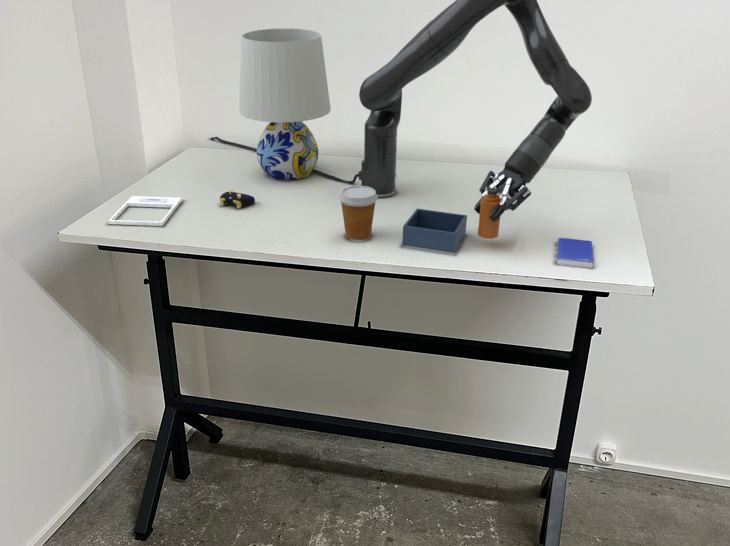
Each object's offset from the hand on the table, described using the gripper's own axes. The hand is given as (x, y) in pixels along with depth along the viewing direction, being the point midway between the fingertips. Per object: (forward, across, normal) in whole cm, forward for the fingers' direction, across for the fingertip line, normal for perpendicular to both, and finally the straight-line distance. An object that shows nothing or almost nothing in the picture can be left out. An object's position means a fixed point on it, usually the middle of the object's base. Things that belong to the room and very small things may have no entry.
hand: (484, 215), depth 171 cm
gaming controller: (+35, -58, -23) cm, 72 cm away
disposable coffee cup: (+22, -21, -10) cm, 32 cm away
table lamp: (+18, -74, -6) cm, 77 cm away
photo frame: (+52, -64, -40) cm, 92 cm away
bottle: (+2, 0, +5) cm, 6 cm away
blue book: (-6, +14, +19) cm, 24 cm away
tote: (+11, -9, +1) cm, 15 cm away
